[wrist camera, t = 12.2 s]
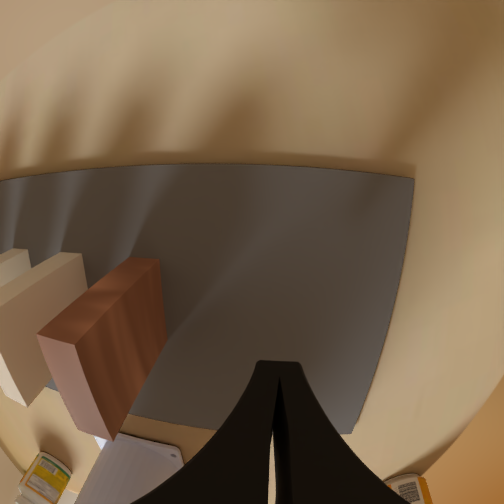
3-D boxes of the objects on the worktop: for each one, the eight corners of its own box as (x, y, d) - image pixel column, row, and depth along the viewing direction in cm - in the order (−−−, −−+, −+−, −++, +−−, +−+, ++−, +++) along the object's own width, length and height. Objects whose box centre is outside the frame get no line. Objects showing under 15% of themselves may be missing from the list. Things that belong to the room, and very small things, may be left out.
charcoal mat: (350, 428, 17) (351, 433, 16) (-19, 352, 19) (-21, 354, 19) (409, 178, 12) (414, 178, 11) (-59, 193, 14) (-63, 194, 14)
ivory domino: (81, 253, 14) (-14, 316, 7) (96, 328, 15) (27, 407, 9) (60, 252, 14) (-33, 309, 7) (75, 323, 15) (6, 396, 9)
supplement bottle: (54, 454, 24) (23, 506, 15) (80, 478, 25) (54, 528, 16) (33, 447, 25) (3, 493, 15) (56, 471, 26) (31, 515, 17)
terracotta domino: (159, 259, 13) (74, 344, 7) (167, 340, 15) (113, 442, 8) (129, 256, 14) (36, 334, 7) (140, 335, 15) (78, 429, 8)
